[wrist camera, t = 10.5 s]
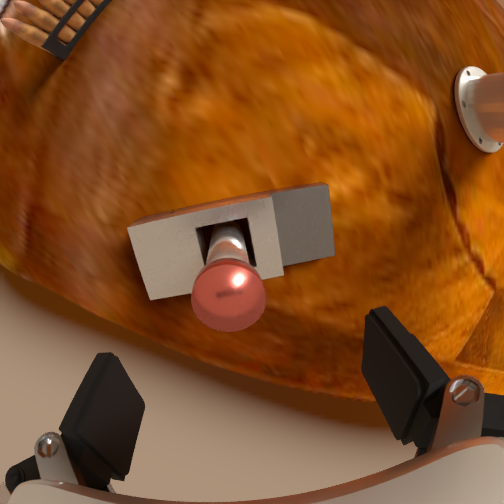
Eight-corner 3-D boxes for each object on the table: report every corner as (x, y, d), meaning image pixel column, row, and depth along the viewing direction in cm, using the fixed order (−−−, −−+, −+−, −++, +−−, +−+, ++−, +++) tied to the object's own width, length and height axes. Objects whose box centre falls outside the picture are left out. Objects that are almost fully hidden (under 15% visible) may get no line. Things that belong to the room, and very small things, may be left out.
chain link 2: (321, 182, 26) (328, 184, 24) (328, 249, 28) (334, 255, 27) (178, 208, 26) (174, 212, 24) (195, 275, 28) (193, 283, 26)
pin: (243, 211, 26) (259, 259, 14) (251, 250, 28) (271, 324, 15) (202, 219, 26) (182, 274, 14) (211, 257, 28) (201, 336, 15)
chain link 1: (265, 191, 26) (271, 196, 22) (276, 259, 28) (283, 275, 25) (140, 217, 26) (127, 227, 22) (159, 282, 28) (150, 300, 24)
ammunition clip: (64, 61, 19) (-1, 30, 8) (55, 57, 18) (-9, 28, 7) (123, -12, 17) (85, -67, 5) (112, -15, 16) (73, -66, 5)
